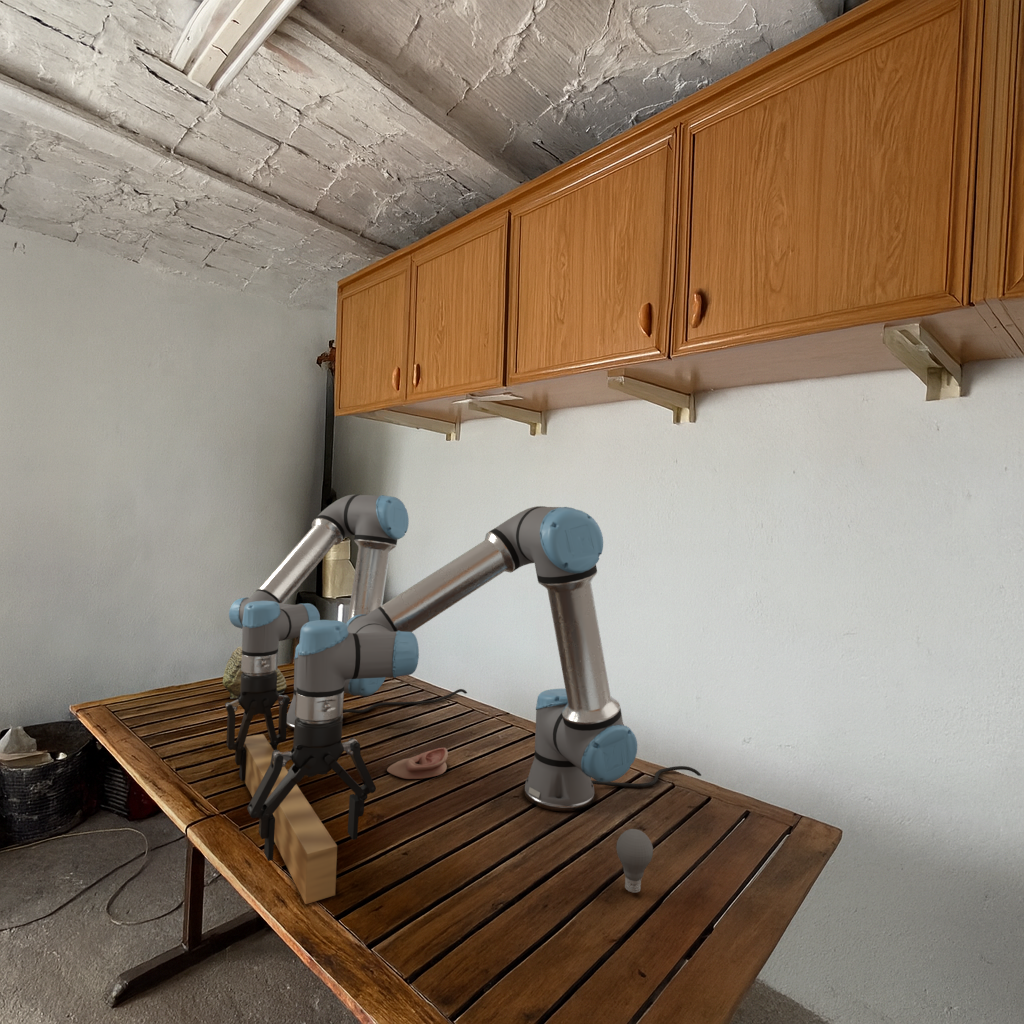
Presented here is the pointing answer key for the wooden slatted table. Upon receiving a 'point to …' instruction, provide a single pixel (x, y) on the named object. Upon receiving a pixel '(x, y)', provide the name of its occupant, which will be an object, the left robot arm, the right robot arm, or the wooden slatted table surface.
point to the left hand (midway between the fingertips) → (255, 775)
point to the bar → (295, 829)
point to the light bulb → (634, 857)
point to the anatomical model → (421, 765)
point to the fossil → (234, 673)
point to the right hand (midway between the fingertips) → (311, 845)
